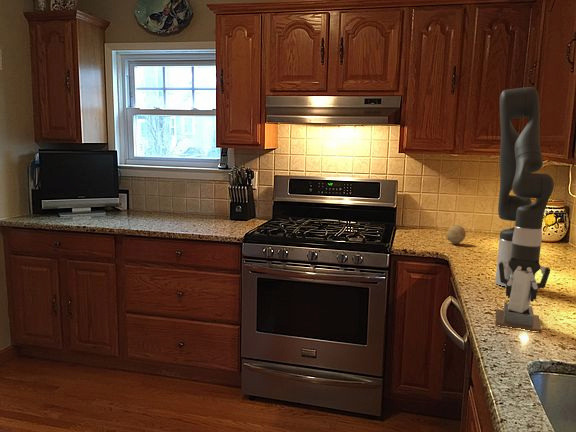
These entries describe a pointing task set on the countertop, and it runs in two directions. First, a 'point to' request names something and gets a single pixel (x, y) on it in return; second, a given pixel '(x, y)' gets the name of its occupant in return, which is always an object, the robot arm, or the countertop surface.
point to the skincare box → (520, 291)
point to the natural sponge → (456, 234)
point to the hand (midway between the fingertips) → (520, 298)
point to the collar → (518, 319)
